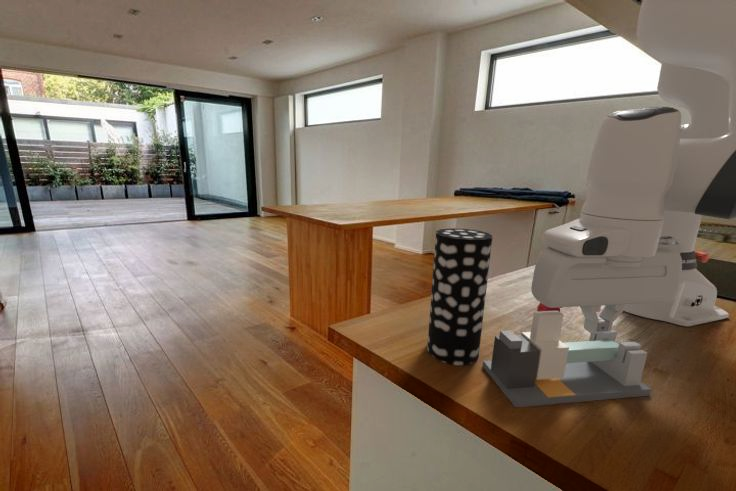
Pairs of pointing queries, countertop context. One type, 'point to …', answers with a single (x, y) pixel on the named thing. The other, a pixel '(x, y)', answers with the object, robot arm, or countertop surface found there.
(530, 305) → the countertop surface
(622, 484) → the countertop surface
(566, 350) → the sleeve
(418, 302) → the countertop surface
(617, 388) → the board
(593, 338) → the gray notched block
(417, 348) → the countertop surface
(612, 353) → the pale teal rod
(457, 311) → the white-spotted black cylinder
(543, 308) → the fruit
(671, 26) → the robot arm
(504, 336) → the block
